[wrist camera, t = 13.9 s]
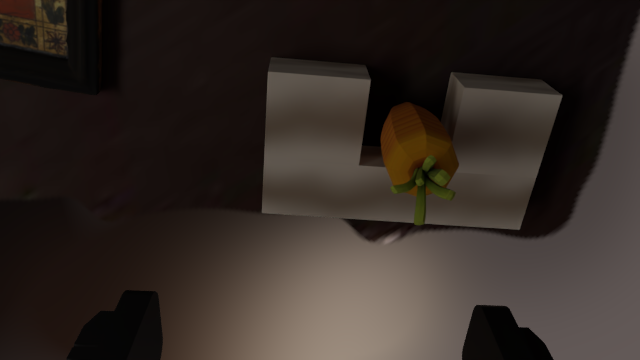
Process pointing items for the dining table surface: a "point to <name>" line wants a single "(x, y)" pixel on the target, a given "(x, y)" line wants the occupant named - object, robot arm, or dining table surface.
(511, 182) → the notched board
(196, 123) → the dining table surface
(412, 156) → the carrot
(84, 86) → the framed painting
